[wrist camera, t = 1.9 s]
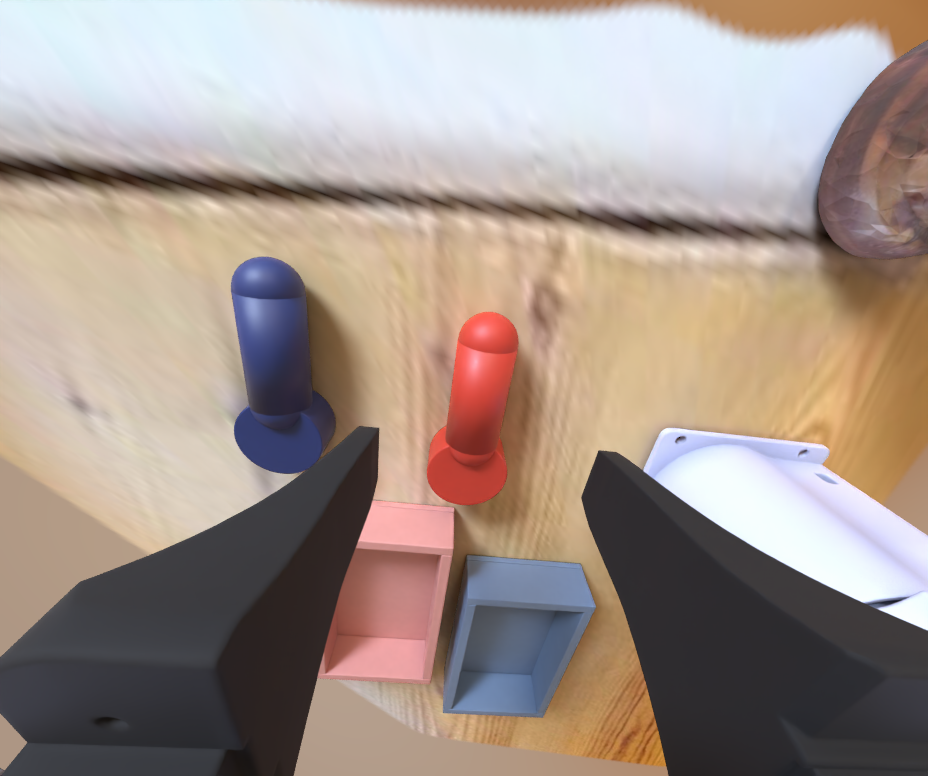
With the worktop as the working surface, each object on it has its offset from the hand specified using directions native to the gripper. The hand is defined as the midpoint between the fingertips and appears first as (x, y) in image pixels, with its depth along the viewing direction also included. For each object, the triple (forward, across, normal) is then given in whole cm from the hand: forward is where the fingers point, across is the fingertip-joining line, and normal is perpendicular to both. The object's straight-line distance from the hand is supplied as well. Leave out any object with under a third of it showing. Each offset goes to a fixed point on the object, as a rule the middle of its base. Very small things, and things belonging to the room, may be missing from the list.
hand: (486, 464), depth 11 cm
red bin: (+6, +4, +15) cm, 17 cm away
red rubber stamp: (+6, 0, +1) cm, 7 cm away
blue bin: (+6, -5, +19) cm, 21 cm away
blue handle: (+6, +9, 0) cm, 11 cm away
